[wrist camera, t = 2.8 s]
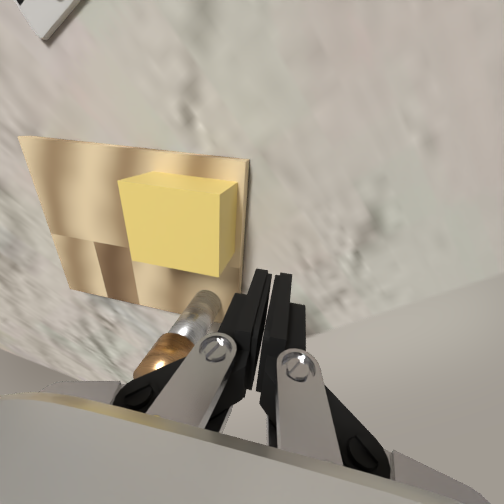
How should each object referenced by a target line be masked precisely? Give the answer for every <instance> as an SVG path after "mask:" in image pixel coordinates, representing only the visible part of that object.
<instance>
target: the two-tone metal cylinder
mask: <svg viewBox="0 0 504 504" xmlns="http://www.w3.org/2000/svg"><path fill="white" fill-rule="evenodd" d="M220 308H221V300H220V298H219V297H218V296H217V295H216V294H215V293H214V292H212V291H209V290H201V291H199V292H197V293H196V295H195V296H194V298H193V299H192V300H191V302H190V303H189V304H188V306H187V307H186V309H185V310H184V311H183V313H182V314H181V315H180V317H179V318H178V320H177V321H176V322H175V324H174V325H173V326H172V328H171V329H170V331H169V332H168V333H166V334H163V335H162V336H161V337H160V338H159V339H158V340H157V342H156V343H155V344H154V346H153V347H152V348H151V350H150V351H149V352H148V354H147V355H146V356H145V358H144V359H143V360H142V362H141V363H140V364H139V366H138V367H137V368H136V370H135V371H134V373H133V378H134V379H136V378H138V377H140V376H143V375H145V374H147V373H150V372H152V371H154V370H156V369H159V368H161V367H163V366H165V365H168V364H170V363H172V362H174V361H177V360H179V359H181V358H184V357H186V356H187V355H188V354H189V353H190V351H191V350H192V348H193V347H194V346H195V344H196V343H197V342H198V341H199V340H200V339H201V338H202V337H203V336H205V335H206V334H207V332H208V331H209V329H210V327H211V325H212V323H213V321H214V319H215V317H216V316H217V314H218V312H219V310H220Z"/></svg>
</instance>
